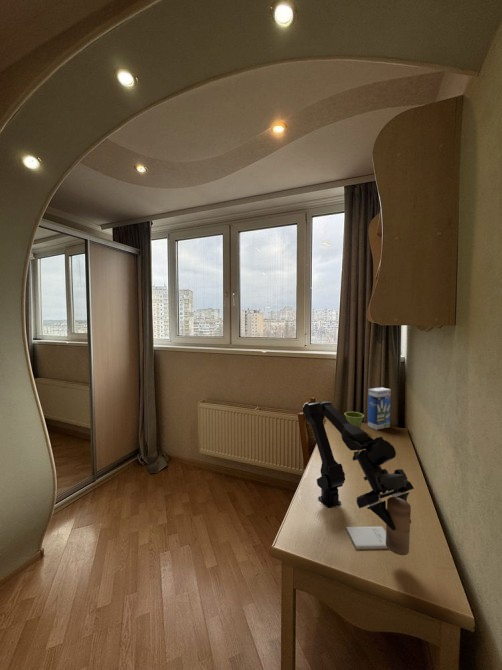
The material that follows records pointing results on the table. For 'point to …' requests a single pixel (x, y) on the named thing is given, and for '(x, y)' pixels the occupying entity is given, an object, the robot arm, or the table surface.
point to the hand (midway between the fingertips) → (402, 526)
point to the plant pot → (354, 418)
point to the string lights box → (379, 408)
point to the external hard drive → (367, 537)
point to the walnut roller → (398, 526)
